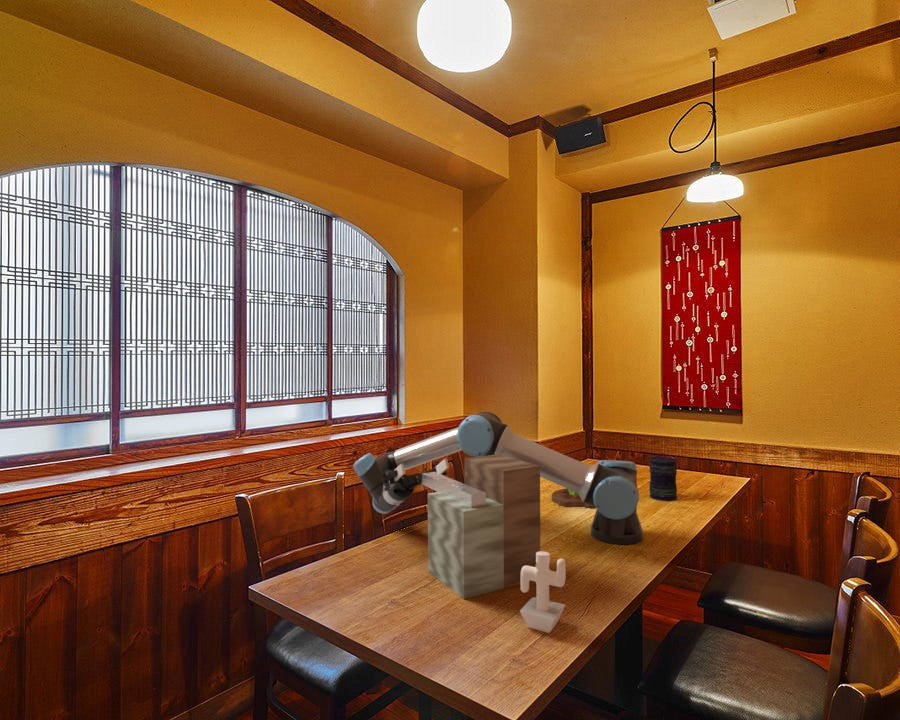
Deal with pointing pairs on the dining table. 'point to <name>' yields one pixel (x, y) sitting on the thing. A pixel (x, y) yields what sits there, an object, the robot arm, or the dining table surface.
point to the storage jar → (663, 478)
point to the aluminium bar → (454, 489)
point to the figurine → (542, 593)
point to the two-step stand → (486, 527)
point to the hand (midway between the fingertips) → (425, 465)
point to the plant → (569, 499)
